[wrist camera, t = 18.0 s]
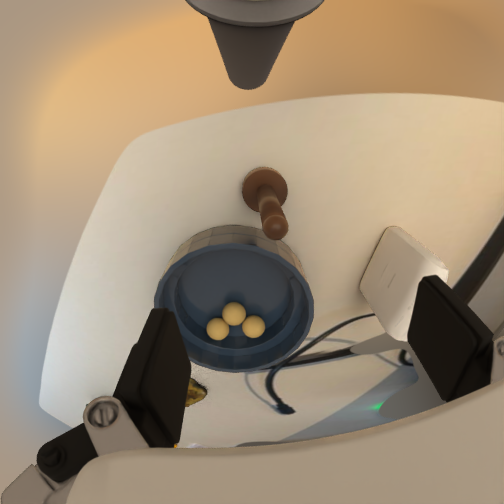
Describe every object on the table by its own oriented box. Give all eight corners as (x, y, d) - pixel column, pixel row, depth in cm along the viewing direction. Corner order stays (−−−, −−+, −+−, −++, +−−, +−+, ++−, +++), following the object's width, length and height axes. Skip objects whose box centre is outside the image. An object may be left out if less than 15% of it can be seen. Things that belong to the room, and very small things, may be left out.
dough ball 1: (222, 310, 39) (218, 322, 36) (235, 326, 39) (231, 339, 36) (204, 319, 39) (199, 331, 36) (217, 334, 40) (213, 347, 37)
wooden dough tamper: (241, 167, 31) (238, 198, 19) (285, 166, 31) (313, 195, 19) (243, 209, 33) (242, 265, 20) (285, 207, 33) (310, 262, 21)
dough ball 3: (255, 345, 38) (235, 334, 38) (262, 328, 40) (243, 317, 40) (264, 335, 36) (243, 324, 36) (271, 318, 38) (251, 307, 38)
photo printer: (386, 220, 34) (438, 263, 23) (410, 230, 35) (463, 274, 24) (353, 288, 38) (387, 348, 27) (377, 295, 39) (414, 352, 28)
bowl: (151, 233, 34) (135, 254, 29) (302, 215, 34) (312, 234, 28) (183, 346, 42) (176, 375, 36) (305, 335, 41) (312, 364, 36)
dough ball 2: (237, 317, 39) (245, 299, 38) (244, 331, 37) (252, 312, 36) (217, 315, 38) (223, 296, 37) (222, 329, 35) (229, 309, 34)
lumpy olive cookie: (201, 365, 45) (121, 366, 45) (198, 384, 40) (112, 383, 41) (212, 402, 48) (137, 402, 48) (210, 421, 43) (131, 419, 44)
